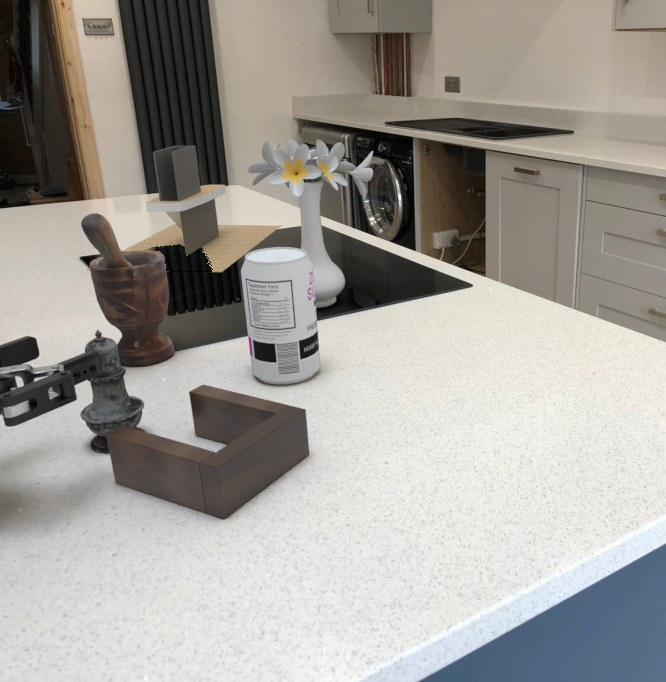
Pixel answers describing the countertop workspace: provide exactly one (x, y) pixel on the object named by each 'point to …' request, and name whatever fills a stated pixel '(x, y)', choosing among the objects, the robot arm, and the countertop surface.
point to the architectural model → (195, 212)
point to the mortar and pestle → (130, 294)
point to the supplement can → (281, 314)
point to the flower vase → (313, 200)
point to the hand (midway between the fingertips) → (66, 353)
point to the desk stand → (207, 466)
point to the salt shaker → (109, 396)
